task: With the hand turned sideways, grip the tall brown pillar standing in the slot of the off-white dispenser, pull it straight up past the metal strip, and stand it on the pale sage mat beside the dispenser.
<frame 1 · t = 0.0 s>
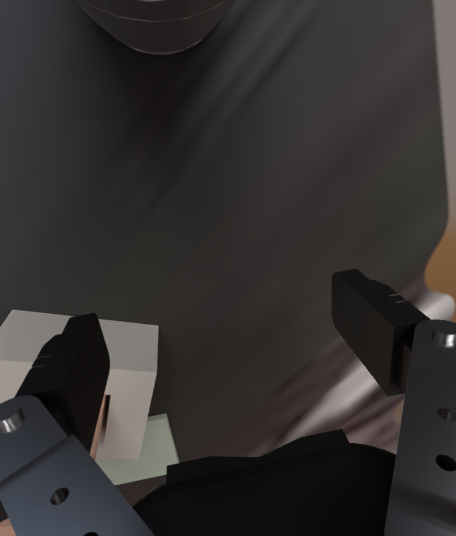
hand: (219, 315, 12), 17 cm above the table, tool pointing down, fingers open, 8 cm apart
tall brown pillar: (82, 370, 32), point 1 cm above the table, touching dispenser
mat: (119, 452, 39), on the table
dispenser: (84, 362, 33), on the table
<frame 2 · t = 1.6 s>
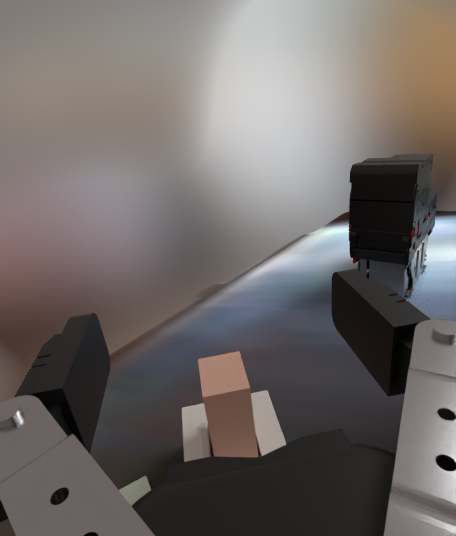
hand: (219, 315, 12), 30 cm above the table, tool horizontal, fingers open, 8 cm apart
tall brown pillar: (238, 475, 38), point 1 cm above the table, touching dispenser
bill acceptor: (391, 280, 74), on the table
dispenser: (239, 481, 38), on the table
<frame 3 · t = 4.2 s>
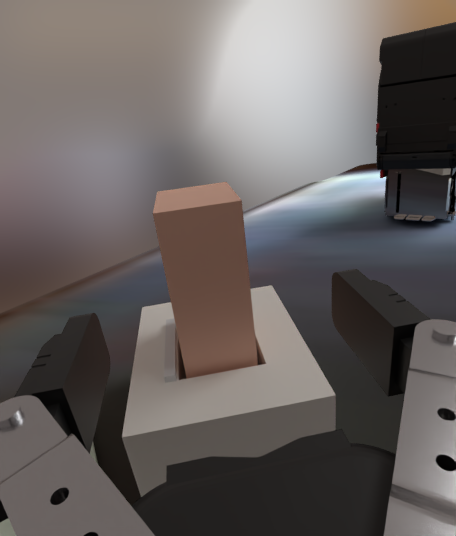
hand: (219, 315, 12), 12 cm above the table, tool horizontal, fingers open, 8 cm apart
tall brown pillar: (226, 402, 24), point 1 cm above the table, touching dispenser
bill acceptor: (424, 210, 60), on the table
dispenser: (228, 414, 24), on the table
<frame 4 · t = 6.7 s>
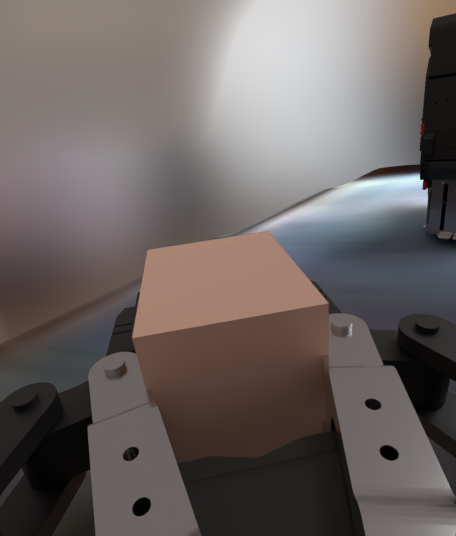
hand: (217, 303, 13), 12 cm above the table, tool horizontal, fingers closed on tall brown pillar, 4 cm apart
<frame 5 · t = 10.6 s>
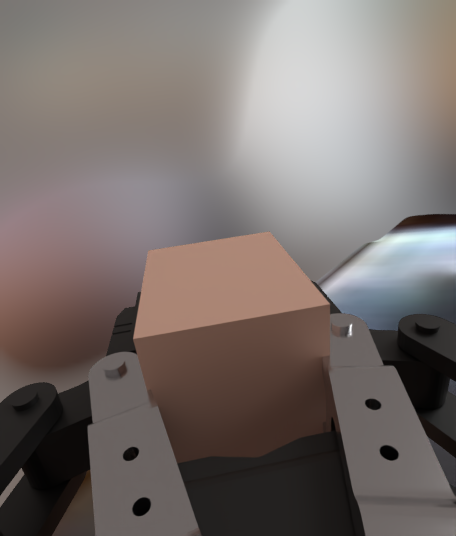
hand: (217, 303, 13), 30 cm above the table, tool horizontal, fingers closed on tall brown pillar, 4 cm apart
when the fingers open (13 cm above the table, at t = 14.4 s): tall brown pillar stays where it is, resting on mat.
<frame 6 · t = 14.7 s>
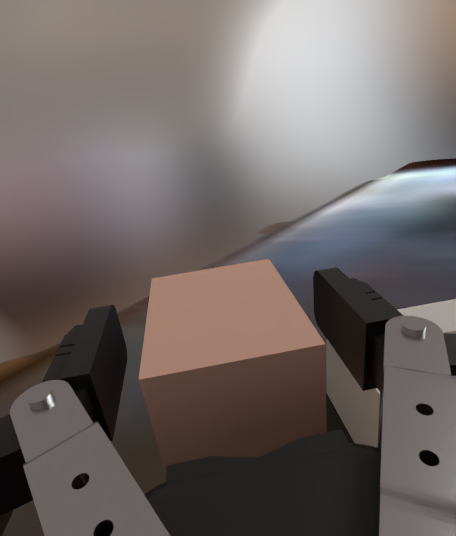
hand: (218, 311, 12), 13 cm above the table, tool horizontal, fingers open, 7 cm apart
dispenser: (449, 449, 21), on the table
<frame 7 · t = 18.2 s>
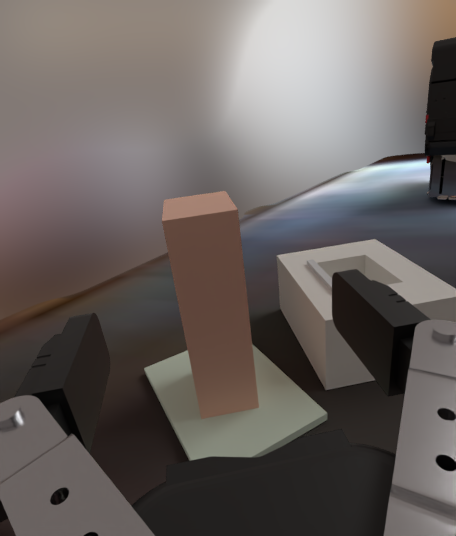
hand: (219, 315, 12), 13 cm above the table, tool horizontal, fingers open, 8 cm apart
tall brown pillar: (225, 387, 27), point 1 cm above the table, touching mat
mat: (225, 394, 27), on the table
dispenser: (353, 332, 32), on the table
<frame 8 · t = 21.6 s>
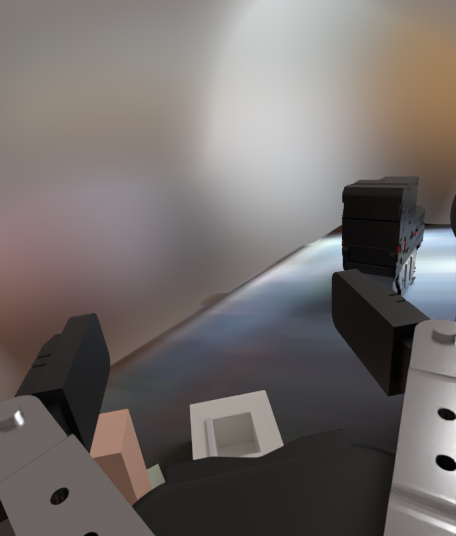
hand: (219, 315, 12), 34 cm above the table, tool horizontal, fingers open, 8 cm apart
tall brown pillar: (136, 527, 39), point 1 cm above the table, touching mat
bill acceptor: (382, 290, 79), on the table
dispenser: (240, 469, 44), on the table
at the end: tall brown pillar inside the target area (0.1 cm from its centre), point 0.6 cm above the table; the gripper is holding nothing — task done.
